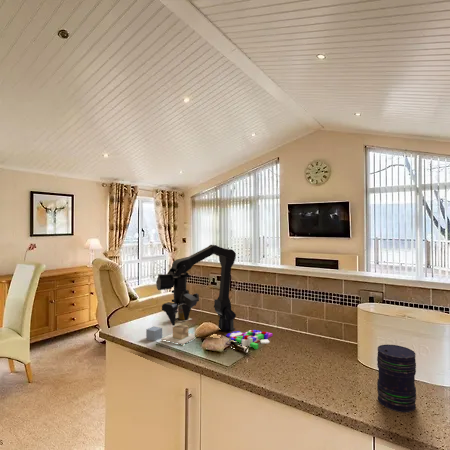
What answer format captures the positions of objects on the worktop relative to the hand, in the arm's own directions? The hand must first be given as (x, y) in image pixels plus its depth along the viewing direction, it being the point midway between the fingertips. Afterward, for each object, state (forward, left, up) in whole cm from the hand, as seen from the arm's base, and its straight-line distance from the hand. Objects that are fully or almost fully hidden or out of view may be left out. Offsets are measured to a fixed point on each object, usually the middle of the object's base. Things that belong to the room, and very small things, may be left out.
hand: (180, 322), depth 144 cm
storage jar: (-86, +11, -8) cm, 87 cm away
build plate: (0, 0, -7) cm, 7 cm away
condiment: (+18, -25, -8) cm, 32 cm away
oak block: (0, 0, -6) cm, 6 cm away
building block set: (-26, -14, -8) cm, 31 cm away
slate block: (+11, +5, -8) cm, 14 cm away
